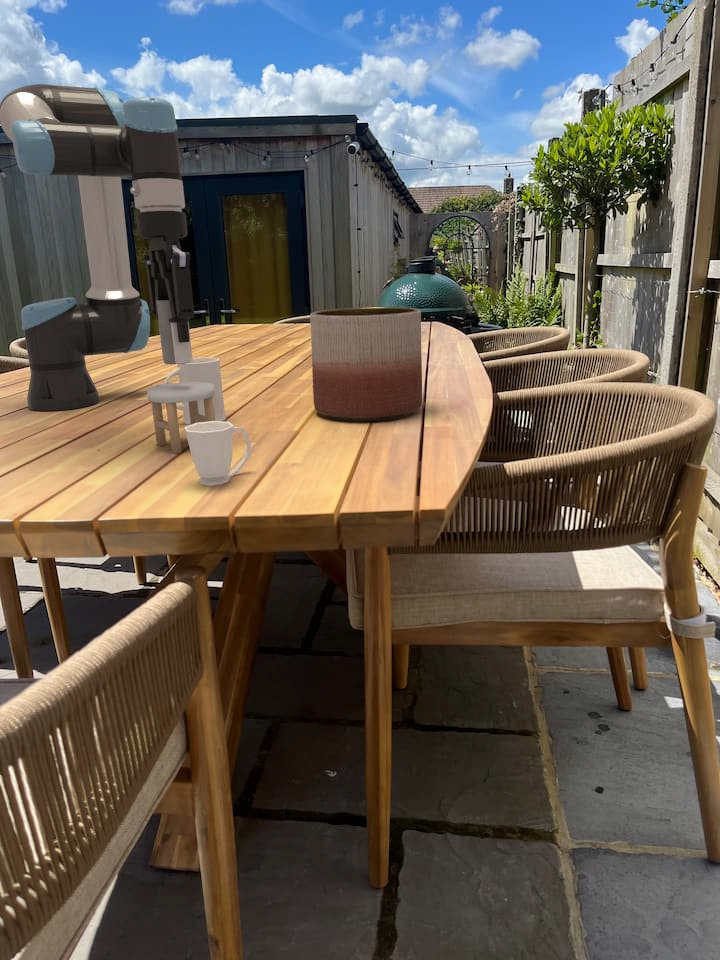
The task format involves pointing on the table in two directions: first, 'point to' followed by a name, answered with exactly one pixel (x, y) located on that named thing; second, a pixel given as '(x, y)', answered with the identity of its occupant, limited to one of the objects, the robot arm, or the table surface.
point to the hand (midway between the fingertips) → (177, 360)
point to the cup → (214, 450)
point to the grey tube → (166, 330)
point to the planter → (366, 362)
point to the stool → (172, 396)
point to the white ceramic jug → (201, 372)
